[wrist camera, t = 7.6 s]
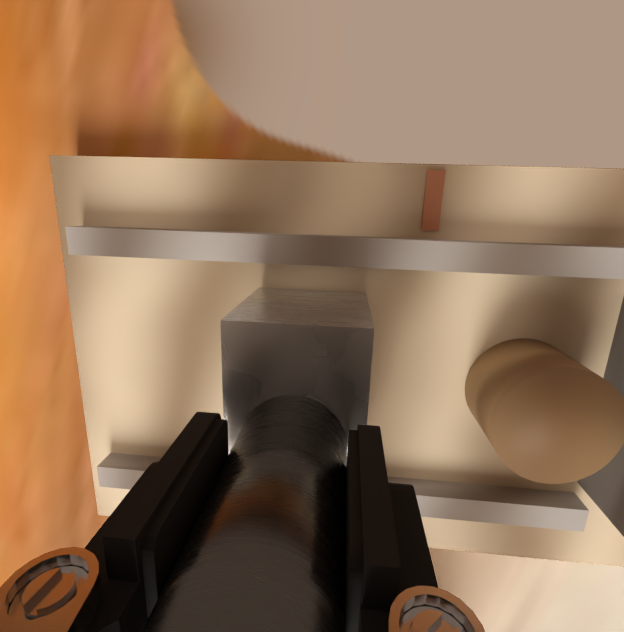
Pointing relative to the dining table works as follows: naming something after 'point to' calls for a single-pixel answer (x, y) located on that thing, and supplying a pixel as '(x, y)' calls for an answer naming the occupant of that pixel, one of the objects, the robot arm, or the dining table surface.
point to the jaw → (278, 470)
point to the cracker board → (385, 306)
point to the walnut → (545, 411)
